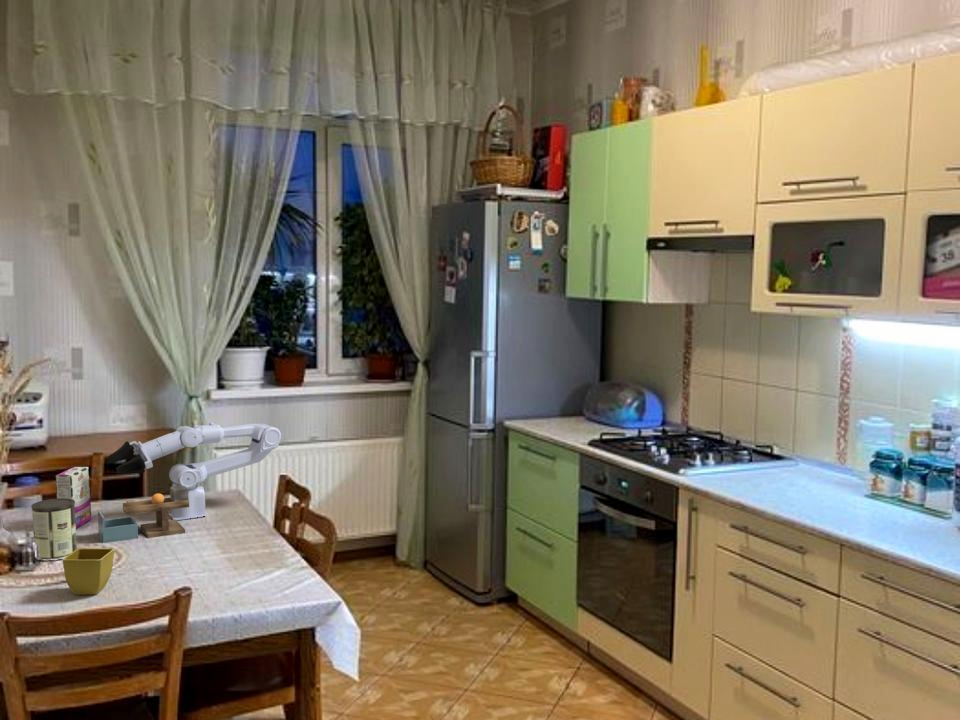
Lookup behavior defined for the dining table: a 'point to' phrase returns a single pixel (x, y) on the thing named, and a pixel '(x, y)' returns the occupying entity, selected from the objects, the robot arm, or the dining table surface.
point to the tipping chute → (173, 502)
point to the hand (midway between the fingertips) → (112, 465)
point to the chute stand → (162, 525)
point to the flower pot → (88, 569)
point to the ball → (157, 498)
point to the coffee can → (54, 527)
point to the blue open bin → (117, 528)
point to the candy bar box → (76, 492)
